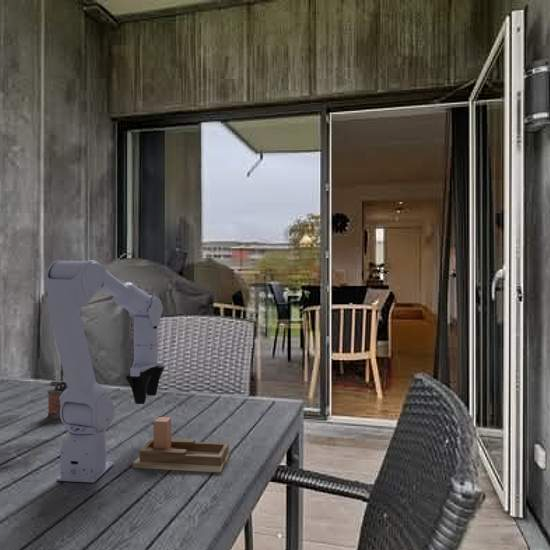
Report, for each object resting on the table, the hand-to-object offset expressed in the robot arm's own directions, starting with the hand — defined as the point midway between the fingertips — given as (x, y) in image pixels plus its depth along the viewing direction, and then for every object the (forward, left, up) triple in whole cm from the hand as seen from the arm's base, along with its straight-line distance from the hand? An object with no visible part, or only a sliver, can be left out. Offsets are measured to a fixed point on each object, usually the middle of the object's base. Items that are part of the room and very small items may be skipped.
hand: (145, 399), depth 126 cm
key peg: (-12, -8, -9) cm, 17 cm away
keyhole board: (-12, -13, -10) cm, 20 cm away
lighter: (+15, +30, -10) cm, 35 cm away
